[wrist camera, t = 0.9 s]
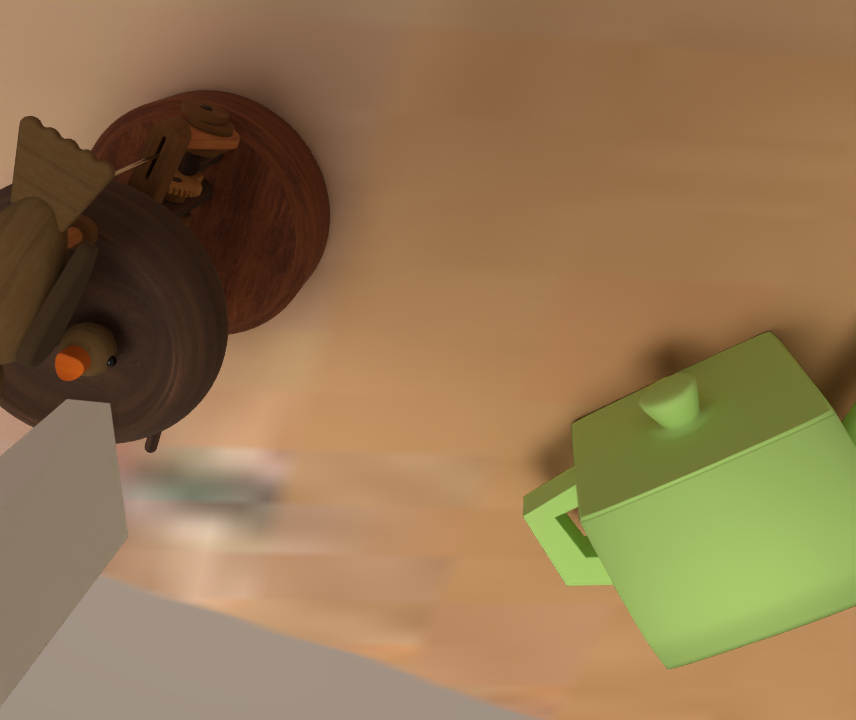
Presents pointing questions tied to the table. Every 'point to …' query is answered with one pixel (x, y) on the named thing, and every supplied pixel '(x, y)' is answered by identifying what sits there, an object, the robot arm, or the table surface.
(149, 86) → the table surface
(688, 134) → the table surface
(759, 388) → the green square kettle
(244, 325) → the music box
